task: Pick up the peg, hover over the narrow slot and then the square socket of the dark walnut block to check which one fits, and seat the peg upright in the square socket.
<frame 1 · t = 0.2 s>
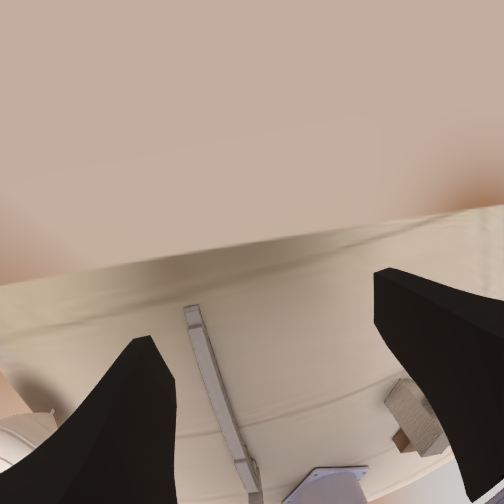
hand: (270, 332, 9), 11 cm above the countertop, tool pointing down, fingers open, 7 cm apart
spinning top: (54, 408, 21), on the countertop
caliper: (228, 407, 22), on the countertop
peg: (402, 391, 24), on the countertop
socket block: (458, 400, 26), on the countertop
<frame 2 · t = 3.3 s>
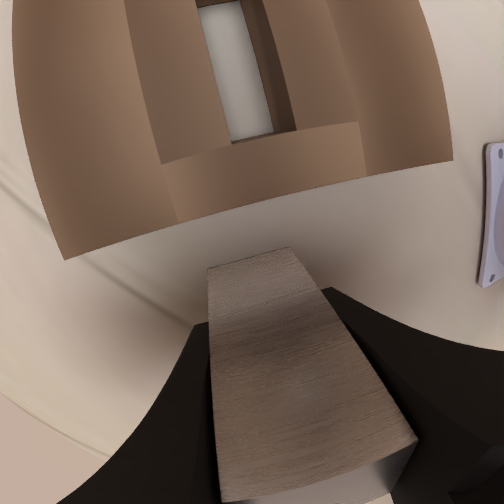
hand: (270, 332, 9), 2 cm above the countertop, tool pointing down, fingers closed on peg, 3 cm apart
peg: (257, 293, 11), on the countertop, touching gripper
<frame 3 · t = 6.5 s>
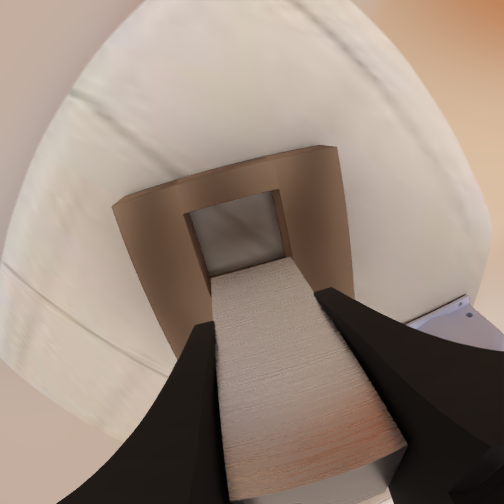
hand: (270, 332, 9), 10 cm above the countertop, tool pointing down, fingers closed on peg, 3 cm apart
spinning top: (373, 469, 37), on the countertop
peg: (259, 301, 11), point 7 cm above the countertop, touching gripper
socket block: (252, 287, 19), on the countertop
when the fingers open (4 cm above the countertop, at t = 10.0 s): peg drops 1 cm, resting in socket block.
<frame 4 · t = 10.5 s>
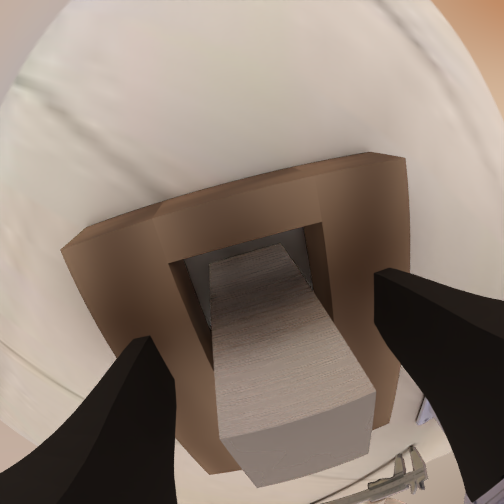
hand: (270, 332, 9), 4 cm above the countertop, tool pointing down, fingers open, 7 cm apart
spinning top: (385, 493, 32), on the countertop
caliper: (341, 486, 26), on the countertop
peg: (253, 284, 13), resting in socket block
socket block: (270, 345, 14), on the countertop
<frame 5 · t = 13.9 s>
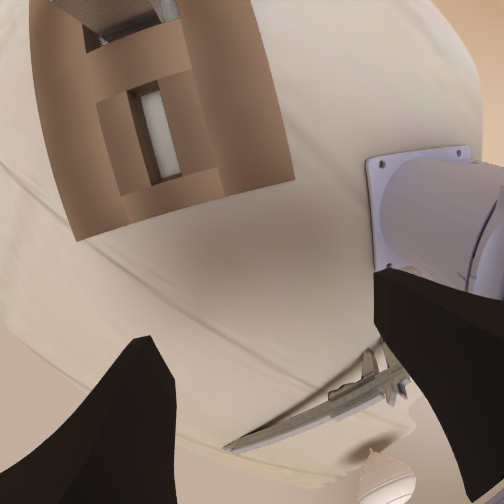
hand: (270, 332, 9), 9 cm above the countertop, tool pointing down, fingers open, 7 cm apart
spinning top: (369, 446, 31), on the countertop
caliper: (296, 401, 25), on the countertop
peg: (136, 20, 12), resting in socket block
socket block: (147, 68, 13), on the countertop
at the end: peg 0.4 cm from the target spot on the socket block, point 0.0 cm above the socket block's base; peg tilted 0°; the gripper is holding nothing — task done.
